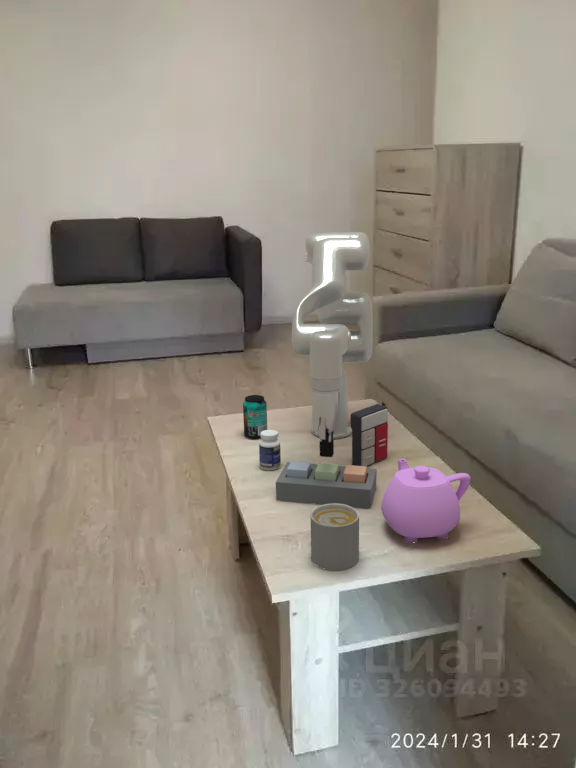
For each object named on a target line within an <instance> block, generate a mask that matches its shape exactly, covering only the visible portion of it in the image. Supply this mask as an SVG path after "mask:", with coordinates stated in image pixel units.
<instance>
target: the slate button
mask: <svg viewBox="0 0 576 768" xmlns="http://www.w3.org/2000/svg"><path fill="white" fill-rule="evenodd" d="M290 462H291V463H290V464H289V466H288V468H287V477H290V478H303V479H308V478H309V476H310V474H311V464H312V462H311V461H301V460H300V461H297V460H290Z"/></svg>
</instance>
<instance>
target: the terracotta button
mask: <svg viewBox="0 0 576 768" xmlns="http://www.w3.org/2000/svg"><path fill="white" fill-rule="evenodd" d="M345 466H346V468H345V471H344V473H343V482H352V483H365V484H366V480H367V468H368V466H354V465H352V464H346V465H345Z"/></svg>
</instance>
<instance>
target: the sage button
mask: <svg viewBox="0 0 576 768" xmlns="http://www.w3.org/2000/svg"><path fill="white" fill-rule="evenodd" d="M317 464H318V466H317V468H316V470H315V480H327V481H337V479H338V476H339V466H340V464H338V463H336V464H335V463H328V462H327V463H323V462H318V463H317Z"/></svg>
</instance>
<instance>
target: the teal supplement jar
mask: <svg viewBox="0 0 576 768" xmlns="http://www.w3.org/2000/svg"><path fill="white" fill-rule="evenodd" d="M267 409H268V407H267V401H266V400H265V397H264V396H263V395H262V394H261V395H259V394H251V395H247V396H245V397H244V401H243V403H242V414H243V434H244V436H245V437H246V438H247V437H248V438H247V439H250V438H251V440H259V438H261V432H262V431H264V430H268V414H267V413H268V411H267ZM261 439H262V438H261Z"/></svg>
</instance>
